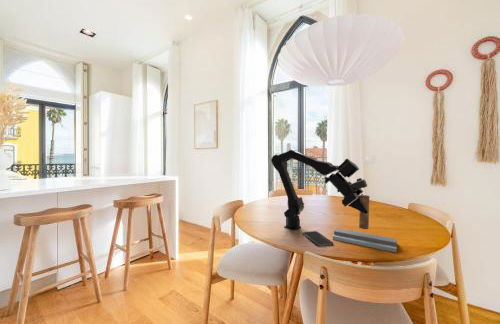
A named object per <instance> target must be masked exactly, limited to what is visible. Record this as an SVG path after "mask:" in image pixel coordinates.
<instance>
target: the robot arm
mask: <svg viewBox="0 0 500 324" xmlns="http://www.w3.org/2000/svg"><path fill="white" fill-rule="evenodd" d="M292 159H293V160H295V161H298V162H299V163H303V164H304V165H307V166H309V167H311V168H312V169H314V170H315V171H316V172H317V173H319V174H321V175H322V176H325V177H324V183H325V184H327V183H329V182H330V184H332V186H334V187H335V188H336V192H337V193H340V194H341V195H342V196H343V199H342V200H341V204H342V205H343V206H344V208H345V207H347V206H348V207H350V208H351V209H352V208H353V209H355V210H356V211H357V210H358V211H359V212H360V211H361V212H363V213H365V214H367V213H368V211H367V210H366V208H365V207H364V206H363V204H362V203H361V201H360V195H364V194H363V193H364V190H363V189H365V188H367V187H368V183H367V181H366V180H365V179H363V178H362V177H360V178H357V179H356V181H355V182H351V181H348V180H347V179H345V178H350V177H352V176H353V175H354V174H356V173H357V172H358V171H359V170H360V168H359V166H357V164H356V163H354V162H353V161H351V160H350V159H349V158H346V159H344V161H343V162H341V164H340V165H334V164H333V163H331V162H328V161H325V160H320V159H319V160H318V159H315V158H314V157H311V156H308V155H306V154H304V153H301V152H299V151H298V150H296V149H289V150H288V151H285V152H282V153H280V154H274V155H273V156H271V159H270V161H271V164H272V165H273V167H274V169H275V170H276V171H277V172H278V174H279V178H280V180H281V183H282V186H283V188H284V189H283V190H285V191H284V192H285V194H286V196H287V209H286V210H285V211H284V212H283V214H284V217H285V225H284V226H283V227H284V228H286V229H290V230H291V231H292V230H293V231H295V230H297V229H300V228H301V227H302V226H301V224H300V223H301V219H300V214H301V213H302V212H303V211H304V209H305V206H304V205H305V203H304V201H303V197H301V196H300V197H299V196H298V195H297V193H296V189H295V188H294V185H293V182H292V179H291V176H290V174H289V171H288V162H289V161H291V160H292ZM334 172H336V173H334ZM327 175H329V176H327Z"/></svg>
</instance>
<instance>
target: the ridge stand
mask: <svg viewBox="0 0 500 324" xmlns="http://www.w3.org/2000/svg"><path fill="white" fill-rule="evenodd" d="M332 240H333V241H334V240H335V241H338V242H344V243H348V244H353V245H359V246H362V247H369V248H372V249H377V250H382V251H388V252H392V253H397V247H398V246H397V241H398V239H397V238H395V237H388V236H383V235H378V234H374V233H373V234H372V233H366V232H363V231H362V232H361V231H354V230H348V229H344V228H338V227H336V228H335V229H334V230H333V235H332Z"/></svg>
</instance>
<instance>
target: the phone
mask: <svg viewBox="0 0 500 324" xmlns="http://www.w3.org/2000/svg"><path fill="white" fill-rule="evenodd" d="M302 235H303V236H304V237H305V238H306V239H307V240H308V241H310V242H311V243H312V244H314V245H315V247H329V246H331V247H332V246H334V242H333V241H332V240H330V239H329V238H327V237H326V236H324V235H323V234H321V233H320V232H318V231H315V230H314V231H303V232H302Z"/></svg>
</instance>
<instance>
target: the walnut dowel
mask: <svg viewBox="0 0 500 324" xmlns="http://www.w3.org/2000/svg"><path fill="white" fill-rule="evenodd" d="M360 201H361V203H362V204H363V206H364V207H365V208H366V210H367V211H368V213H367V214H365V213H363V212H361V211H359V217H358V218H359V223H358V224H359V226H358V227H359V229H361V230H369V222H370V195H367V194H363V195H361V194H360Z"/></svg>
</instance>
